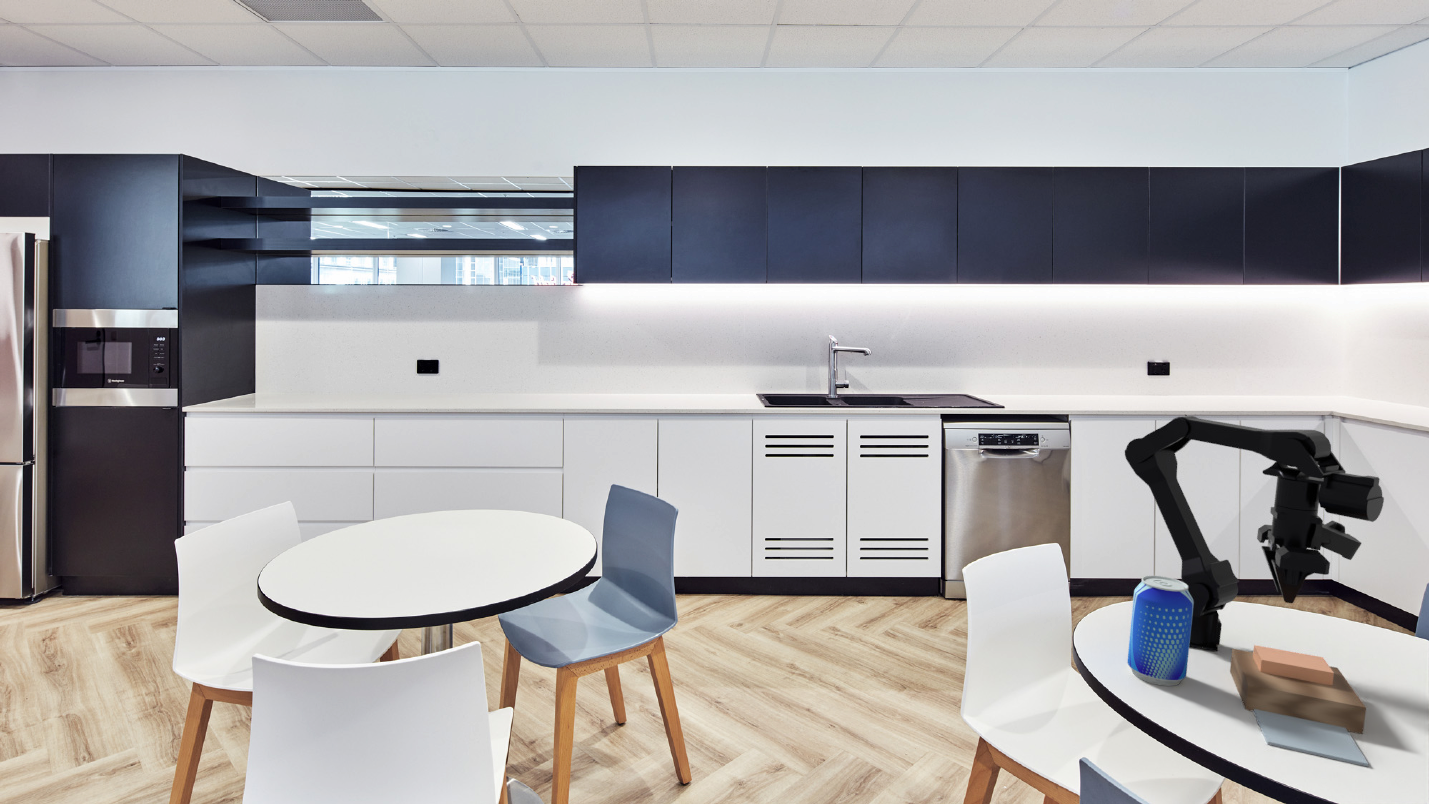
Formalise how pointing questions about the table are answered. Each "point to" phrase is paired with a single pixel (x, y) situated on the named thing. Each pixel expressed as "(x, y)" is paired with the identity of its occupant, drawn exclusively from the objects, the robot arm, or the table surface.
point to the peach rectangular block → (1293, 665)
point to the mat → (1309, 737)
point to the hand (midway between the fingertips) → (1285, 598)
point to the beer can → (1160, 630)
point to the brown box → (1297, 695)
